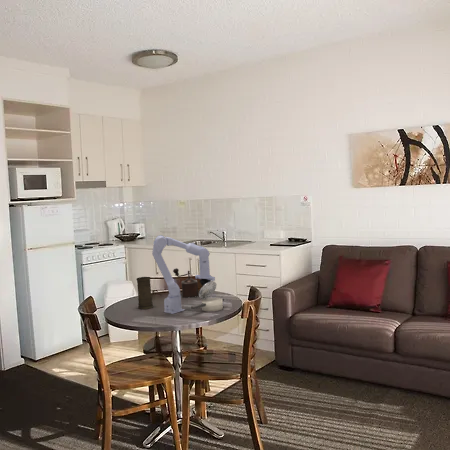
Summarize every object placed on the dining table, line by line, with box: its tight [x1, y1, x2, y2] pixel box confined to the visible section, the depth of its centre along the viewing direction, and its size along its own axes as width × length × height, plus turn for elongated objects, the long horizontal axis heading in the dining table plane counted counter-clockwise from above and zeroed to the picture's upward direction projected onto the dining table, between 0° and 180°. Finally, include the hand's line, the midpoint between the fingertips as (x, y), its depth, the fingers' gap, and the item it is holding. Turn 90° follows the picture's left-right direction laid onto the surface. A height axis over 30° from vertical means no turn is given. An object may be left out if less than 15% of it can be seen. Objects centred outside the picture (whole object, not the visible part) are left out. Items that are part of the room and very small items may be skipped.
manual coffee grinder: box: [172, 267, 199, 299], centre depth 319 cm, size 16×11×18 cm
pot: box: [190, 297, 225, 313], centre depth 278 cm, size 23×12×5 cm, turn 135°
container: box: [135, 276, 154, 310], centre depth 294 cm, size 9×9×18 cm
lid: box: [198, 280, 217, 300], centre depth 283 cm, size 12×12×2 cm
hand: (205, 291), depth 283 cm, fingers closed
